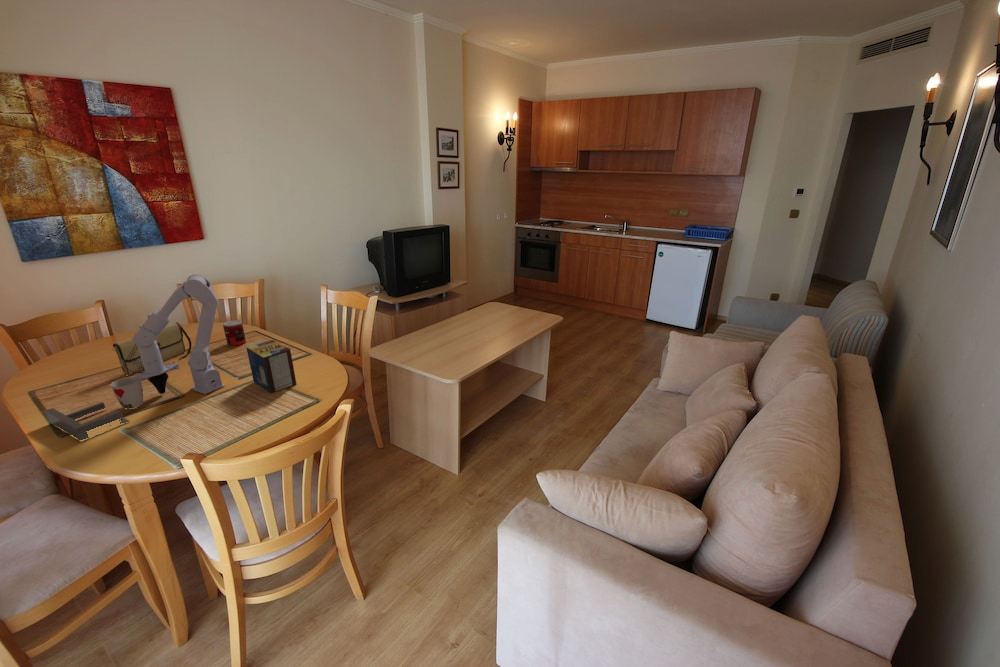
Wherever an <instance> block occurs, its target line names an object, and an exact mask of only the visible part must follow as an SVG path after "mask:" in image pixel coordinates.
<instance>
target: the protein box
mask: <svg viewBox="0 0 1000 667" xmlns="http://www.w3.org/2000/svg"><path fill="white" fill-rule="evenodd" d="M246 352H247V358H248V362H249V365H250V370H251V376H252V380H253V383H254V384H256V385H258V386H259V385H260V386H259V387H261V388H262V389H263V388H264V390H265V391H266V390H267V391H266V392H267V393H271V394H274V393H276V391H277V392H278V390H280V391H282V390H285V389H287V388H291V387H293V386H296V385H297V379H296V372H295V368H294V363H293V358H292V357H293V356H292V352H291V348H289V347H287V346H285V345H283V344H281V343H279V342H278V341H275V340H274V339H271V340H266V341H262V342H260V343H255V344H251V345H249V346H246ZM273 392H274V393H273Z"/></svg>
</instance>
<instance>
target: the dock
mask: <svg viewBox="0 0 1000 667" xmlns="http://www.w3.org/2000/svg"><path fill="white" fill-rule="evenodd" d="M104 408H106V406H105V403H104V402H98V403H96V404H93V405H90V406H88V407H84V408H82V409H79V410H77V411H73V412H71V413H68V414H64V413H63V412H60V411H58V410H57V409H55V408H54V407H52V408H50V409H46V410H45V411H44V412H45V415H46V417H47V420H48V421H50V422H51V423H53V424H54V425H56V426H58V427H60V428H61V429H63V430H64V431H66V432H68V433H69V434H71V435H73V436H74V437H76V438H78V439H79V440H83V439H86V438H89V437H88V434H87V432H86V431H89V430H91V429H94V428H96V427H99V426H102V425H104V424H107V423H110V422H112V421H115V420H117V419H120V418H121V419H120V420H121V422H120V424H121V423H126V422H129V421H130V420H128V419H127V418H125V417H123V414H122V412H121V410H117V411H114V412H111V413H109V414H106V415H104V416H101V417H98V418H96V419H93V420H90V421H88V422H86V423H83V424H82V423H80V422H78V421H75V419H77V418H80V417H82V416H84V415H87V414H89V413H92V412H95V411H98V410H101V409H104ZM120 420H119V421H120ZM50 422H49V423H50ZM110 426H111V425H110Z"/></svg>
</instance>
